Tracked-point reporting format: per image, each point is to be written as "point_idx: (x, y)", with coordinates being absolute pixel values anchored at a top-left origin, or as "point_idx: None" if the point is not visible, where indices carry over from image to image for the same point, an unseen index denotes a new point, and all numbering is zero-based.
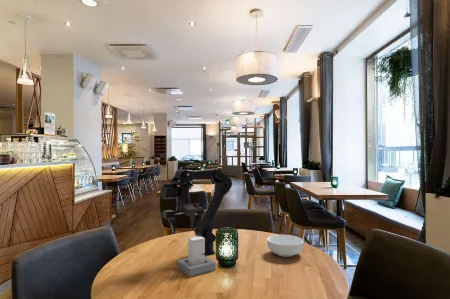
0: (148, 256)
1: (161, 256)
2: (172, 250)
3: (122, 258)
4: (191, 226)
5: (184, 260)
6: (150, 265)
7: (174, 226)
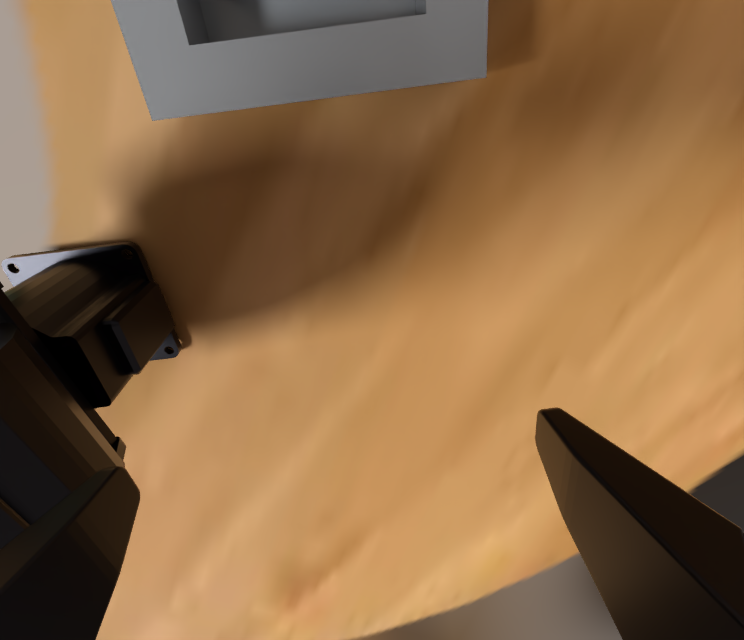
0: None
1: (476, 389)
2: (362, 459)
3: (698, 452)
4: (110, 550)
5: (413, 16)
6: (634, 252)
7: (674, 525)
